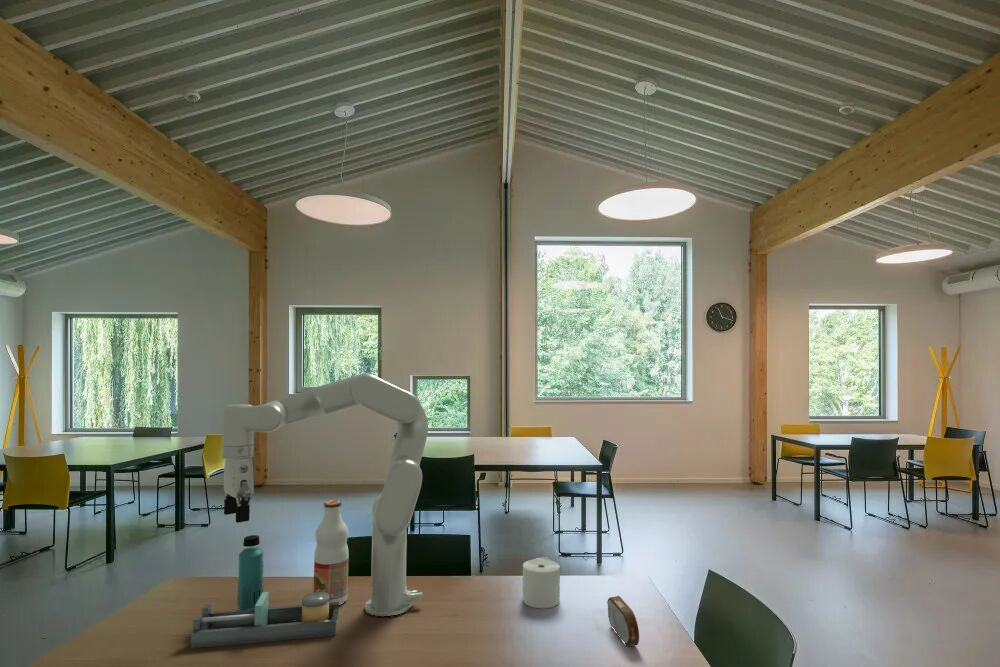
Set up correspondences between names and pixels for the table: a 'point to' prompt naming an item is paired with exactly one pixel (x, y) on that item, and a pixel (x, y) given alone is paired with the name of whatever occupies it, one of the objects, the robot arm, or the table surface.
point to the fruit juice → (332, 554)
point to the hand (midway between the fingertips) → (236, 517)
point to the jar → (315, 606)
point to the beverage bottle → (250, 573)
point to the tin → (623, 620)
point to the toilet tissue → (541, 583)
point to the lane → (260, 626)
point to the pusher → (259, 615)
